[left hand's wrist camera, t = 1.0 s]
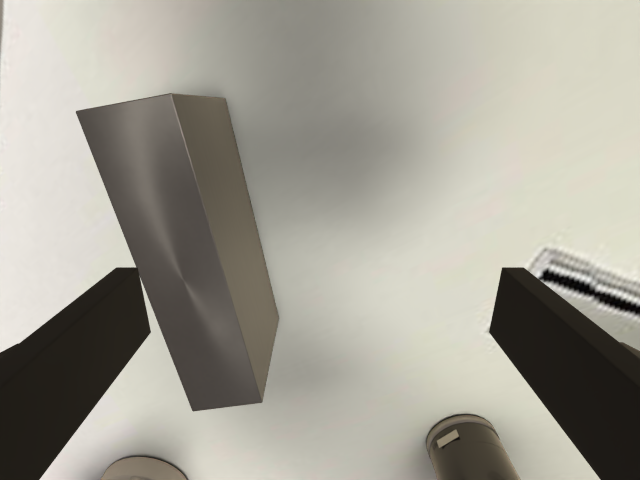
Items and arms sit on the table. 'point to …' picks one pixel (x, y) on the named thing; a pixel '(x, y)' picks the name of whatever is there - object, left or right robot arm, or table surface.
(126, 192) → the box
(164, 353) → the table surface
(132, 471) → the bust sculpture
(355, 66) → the table surface
